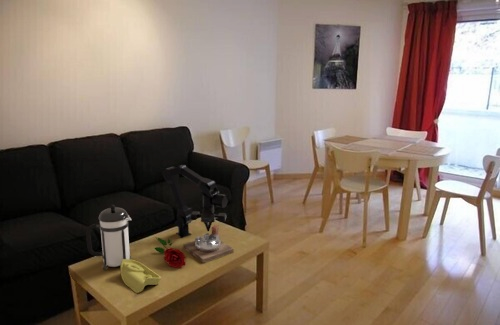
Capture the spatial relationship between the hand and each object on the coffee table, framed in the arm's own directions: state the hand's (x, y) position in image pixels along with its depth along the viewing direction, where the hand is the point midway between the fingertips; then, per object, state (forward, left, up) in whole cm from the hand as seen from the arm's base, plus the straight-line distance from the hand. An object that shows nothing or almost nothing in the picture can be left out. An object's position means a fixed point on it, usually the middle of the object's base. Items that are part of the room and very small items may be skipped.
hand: (208, 231), depth 203 cm
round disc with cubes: (+7, -4, -4) cm, 9 cm away
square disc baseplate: (+9, -6, -6) cm, 12 cm away
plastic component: (+14, -45, -6) cm, 48 cm away
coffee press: (-6, -49, -6) cm, 50 cm away
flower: (+2, -26, -6) cm, 27 cm away
